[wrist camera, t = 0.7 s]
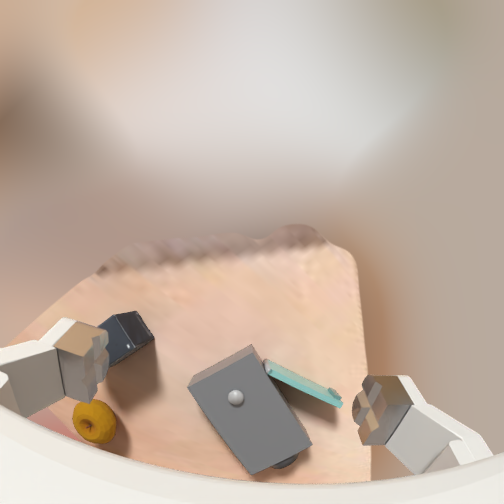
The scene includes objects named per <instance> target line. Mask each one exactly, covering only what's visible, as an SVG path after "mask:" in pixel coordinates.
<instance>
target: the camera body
mask: <svg viewBox="0 0 504 504" xmlns="http://www.w3.org/2000/svg"><path fill="white" fill-rule="evenodd" d="M187 388H188V390H189V391H190V393H191V394H192V396H193V397H194V399H195V400H196V402H197V403H198V405H199V406H200V407H201V409H202V410H203V412H204V413H205V415H206V416H207V418H208V419H209V420H210V422H211V423H212V425H213V426H214V427H215V429H216V430H217V431H218V433H219V434H220V436H221V437H222V438H223V440H224V441H225V442H226V444H227V445H228V446H229V448H230V449H231V450H232V452H233V453H234V454H235V455H236V457H237V458H238V459H239V461H240V462H241V463H242V464H243V466H244V467H245V468H246V469H247V471H248V472H249V473H250V474H251V475H253V474H255V473H257V472H260V471H262V470H264V469H266V468H268V467H270V466H272V467H273V468H274V469H280V468H284V467H286V466H288V465H290V464H291V463H293V462H294V461H295V460H296V458H297V457H298V452H300V451H302V450H304V449H306V448H308V447H310V446H311V445H312V442H311V440H310V438H309V436H308V434H307V431H306V429H305V428H304V426H303V424H302V423H301V421H300V420H299V418H298V417H297V415H296V414H295V412H294V411H293V409H292V408H291V406H290V405H289V403H288V402H287V400H286V398H285V397H284V395H283V394H282V392H281V391H280V389H279V387H278V386H277V384H276V383H275V381H274V380H273V378H272V376H271V375H269V374H267V373H266V370H265V366H264V364H263V362H262V360H261V359H260V357H259V356H258V354H257V352H256V351H255V349H254V347H253V346H252V344H251V345H249V346H247V347H246V348H244V349H242V350H240V351H239V352H237V353H235V354H233V355H231V356H230V357H228V358H226V359H224V360H222V361H220V362H219V363H217V364H215V365H213V366H211V367H209V368H207V369H205V370H204V371H202V372H200V373H198V374H196V375H194V376H193V378H192V379H191V381H190V383H189V385H188V387H187Z"/></svg>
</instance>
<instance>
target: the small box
mask: <svg viewBox="0 0 504 504" xmlns="http://www.w3.org/2000/svg"><path fill="white" fill-rule="evenodd" d="M98 328H101V329H104V330H106V331H107V332H108V341H109V342H108V344H107V345H106V347H105V348H106V350H107V352H108V353H109V367H108V368H110V367H112V366H114V365H116V364H117V363H119V362H120V361H122V360H123V359H125V358H127V357H128V356H129V355H131V354H132V353H134V352H135V351H137V350H139V349H140V348H141V347H143V346H144V345H146V344H147V343H149V342H150V341H151V340H153V339H154V336H153V334H152V333H151V332H150V330H149V329H148V328H147V326H146V325H145V323H144V322H143V320H142V318H141V316H140V315H139V314H138V312H137V311H133V312H127V313H122V314H116V315H112V316H111V317H110V318H108V319H107V320H106V321H104V322H103V323H102V324H100V325H99V326H98Z"/></svg>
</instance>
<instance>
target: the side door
mask: <svg viewBox="0 0 504 504" xmlns="http://www.w3.org/2000/svg"><path fill="white" fill-rule="evenodd" d="M263 363H264V366H265V370H266V373H267V374H269V375H271V376H273V377H275V378H276V379H278V380H280V381H283V382H285V383H287V384H289V385H291V386H293V387H295V388H297V389H299V390H301V391H303V392H305V393H307V394H310V395H312V396H314V397H316V398H318V399H320V400H323V401H325V402H327V403H329V404H331V405H334V406H336V407H338V408H341V407H342V405H343V402H342V401H341V400H340V399H341V398H342V397H341V396H340V395H339V394H338V393H337V392H336V391H335V390H334V389H332V388H329V389H326V388H324V387H322V386H320V385H318V384H316V383H314V382H312V381H310V380H307V379H305V378H303V377H301V376H299V375H297V374H295V373H293V372H291V371H289V370H287V369H285V368H283V367H281V366H280V365H278V364H276V363H274V362H272V361H270V360H268V359H265V360H264V361H263Z"/></svg>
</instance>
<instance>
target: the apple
mask: <svg viewBox="0 0 504 504" xmlns="http://www.w3.org/2000/svg"><path fill="white" fill-rule="evenodd" d="M72 419H73V424H74V427H75V429H76V430H77V432H78V433H79V434H80V435H81V436H82V437H83V438H84V439H85V440H87V441H89V442H92V443H100V444H104V443H108V442H109V441H111V440H112V439H113V437H114V435H115V432H116V418H115V415H114V413H113V411H112V409H111V408H110V407H109V406H108V405H107V404H106V403H104V402H102V401H100V400H95V399H92V401H91V402H90V404H88V403H85V402H80V403H79V404H77V405H76V406H75V408H74V412H73V418H72Z"/></svg>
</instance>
